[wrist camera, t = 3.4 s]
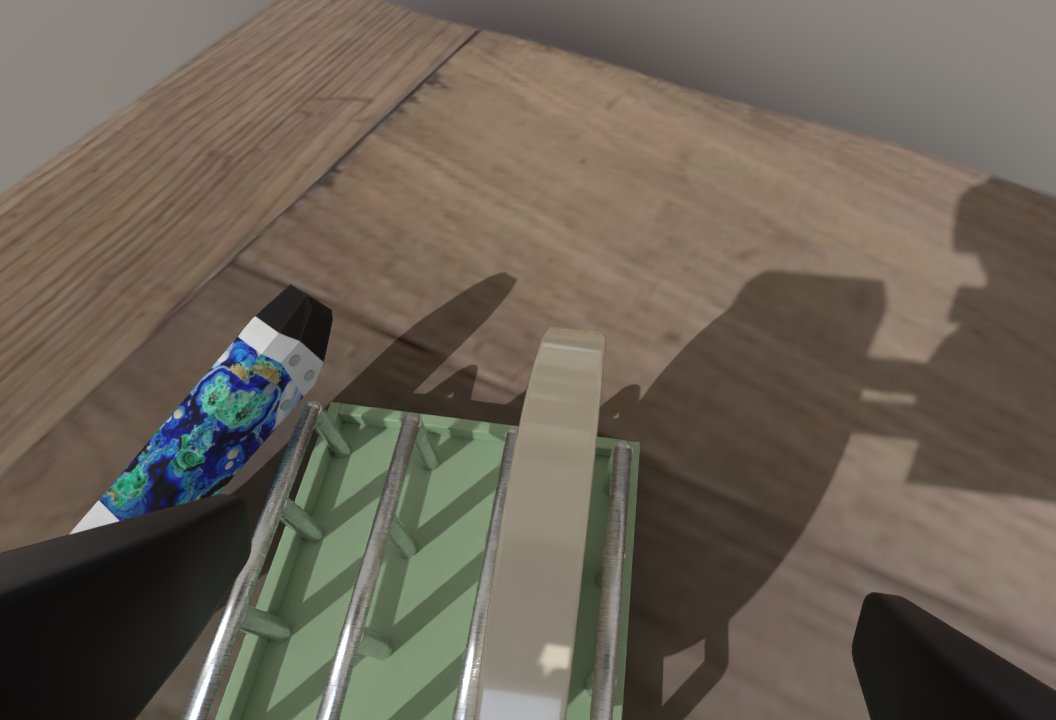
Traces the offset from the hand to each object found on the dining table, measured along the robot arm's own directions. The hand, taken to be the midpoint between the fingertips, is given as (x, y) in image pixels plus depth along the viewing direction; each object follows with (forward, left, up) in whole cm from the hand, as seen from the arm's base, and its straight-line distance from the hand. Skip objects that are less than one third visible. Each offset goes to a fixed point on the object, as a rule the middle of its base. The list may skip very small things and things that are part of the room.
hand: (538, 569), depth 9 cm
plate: (0, -1, -9) cm, 10 cm away
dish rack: (+3, +1, -10) cm, 11 cm away
